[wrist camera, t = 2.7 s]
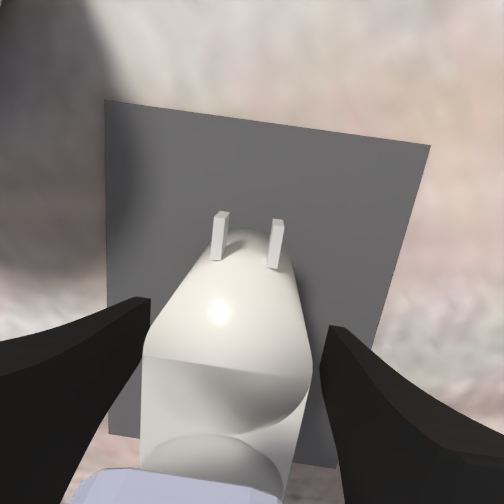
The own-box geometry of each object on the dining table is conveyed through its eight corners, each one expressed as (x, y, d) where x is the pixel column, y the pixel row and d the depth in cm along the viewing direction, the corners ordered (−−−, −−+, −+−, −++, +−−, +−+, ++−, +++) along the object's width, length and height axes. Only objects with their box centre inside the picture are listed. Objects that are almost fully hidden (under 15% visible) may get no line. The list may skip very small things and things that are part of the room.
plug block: (271, 395, 15) (272, 548, 9) (189, 383, 15) (137, 526, 9) (306, 208, 12) (340, 255, 6) (205, 194, 12) (146, 227, 6)
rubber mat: (334, 463, 16) (335, 468, 16) (111, 429, 16) (108, 433, 16) (426, 145, 11) (430, 145, 11) (108, 101, 11) (104, 100, 11)
